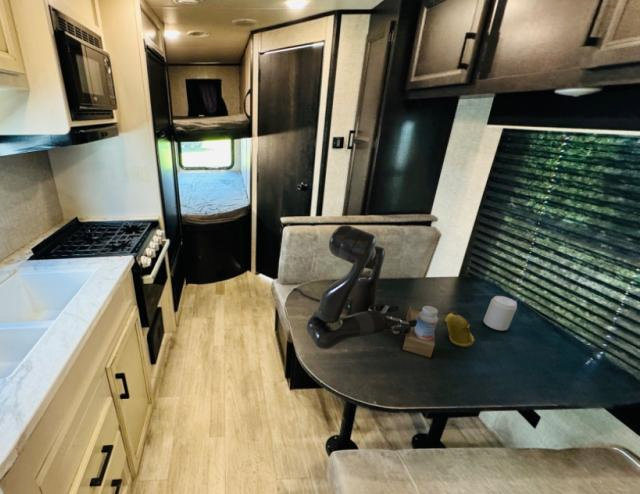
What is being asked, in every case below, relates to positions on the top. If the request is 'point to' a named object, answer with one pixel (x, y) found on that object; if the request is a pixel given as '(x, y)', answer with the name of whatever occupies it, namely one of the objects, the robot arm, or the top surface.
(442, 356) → the top surface
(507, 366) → the top surface
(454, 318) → the yellow flared lump
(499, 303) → the white cylinder
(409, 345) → the striped tan crate
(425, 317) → the pill bottle
